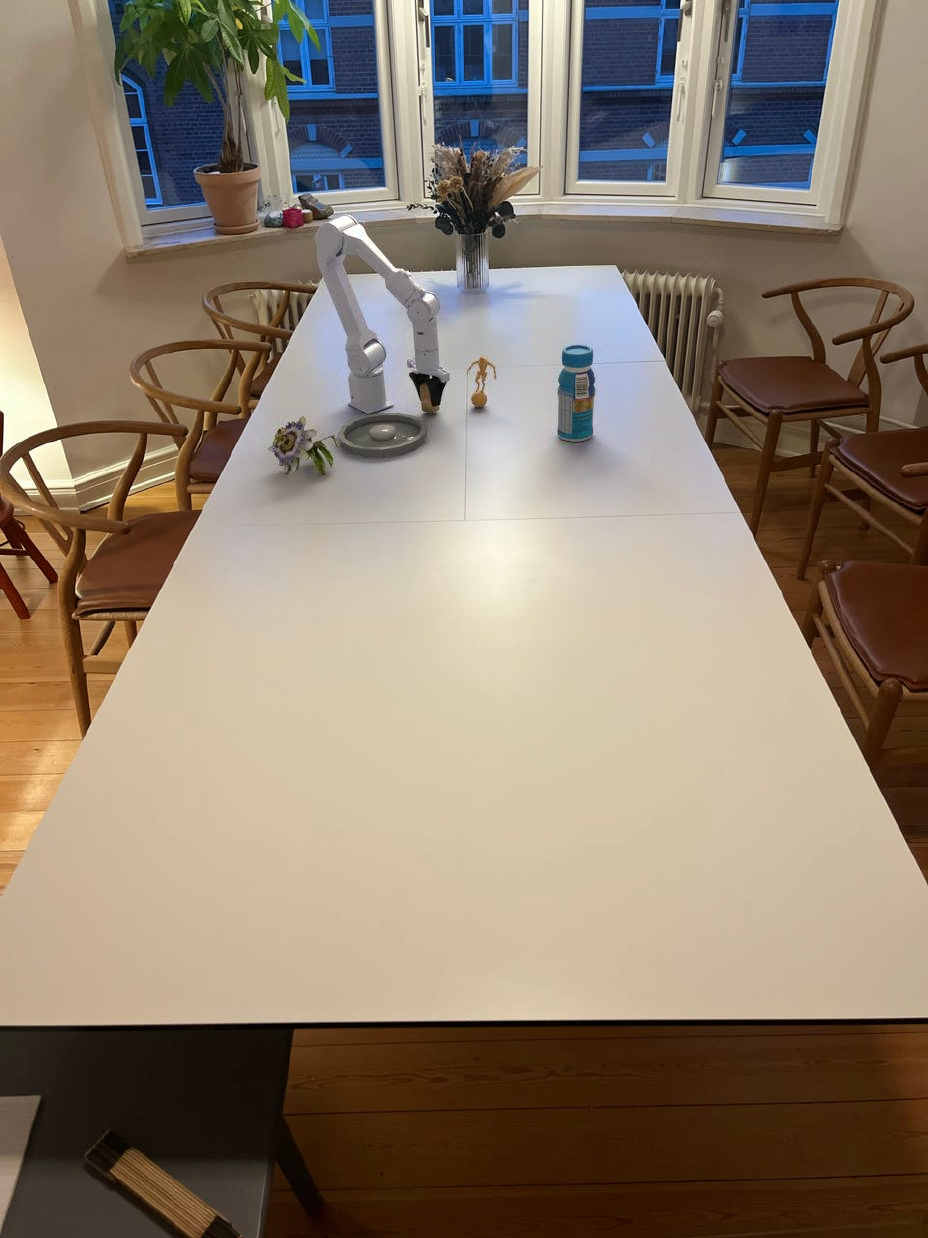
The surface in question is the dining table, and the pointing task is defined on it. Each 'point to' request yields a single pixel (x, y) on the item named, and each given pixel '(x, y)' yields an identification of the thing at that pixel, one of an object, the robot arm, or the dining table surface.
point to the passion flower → (299, 447)
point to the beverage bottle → (576, 394)
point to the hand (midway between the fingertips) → (430, 402)
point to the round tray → (387, 448)
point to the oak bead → (426, 400)
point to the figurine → (479, 396)
